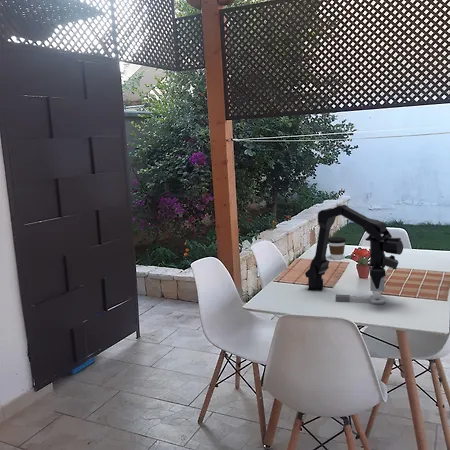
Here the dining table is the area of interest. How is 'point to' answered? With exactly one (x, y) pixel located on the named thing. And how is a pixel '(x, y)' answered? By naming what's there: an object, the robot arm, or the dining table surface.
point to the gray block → (381, 286)
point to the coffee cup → (336, 247)
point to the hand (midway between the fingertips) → (377, 286)
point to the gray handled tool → (363, 298)
